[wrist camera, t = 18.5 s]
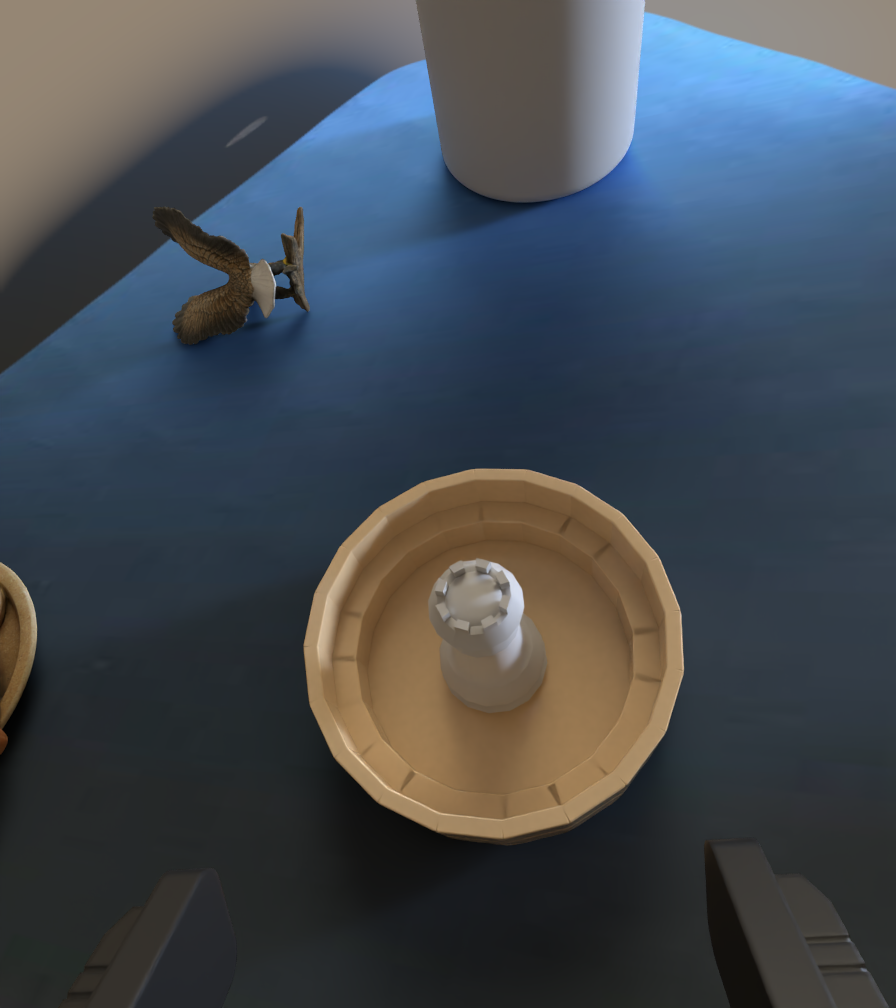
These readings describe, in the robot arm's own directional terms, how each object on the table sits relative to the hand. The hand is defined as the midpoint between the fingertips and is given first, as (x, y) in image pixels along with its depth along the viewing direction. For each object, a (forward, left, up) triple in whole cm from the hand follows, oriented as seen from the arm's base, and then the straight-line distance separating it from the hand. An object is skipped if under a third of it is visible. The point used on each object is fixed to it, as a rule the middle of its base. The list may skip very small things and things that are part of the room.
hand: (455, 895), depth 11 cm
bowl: (+1, -9, -17) cm, 19 cm away
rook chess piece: (+1, -8, -17) cm, 19 cm away
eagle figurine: (+18, -30, -17) cm, 39 cm away
